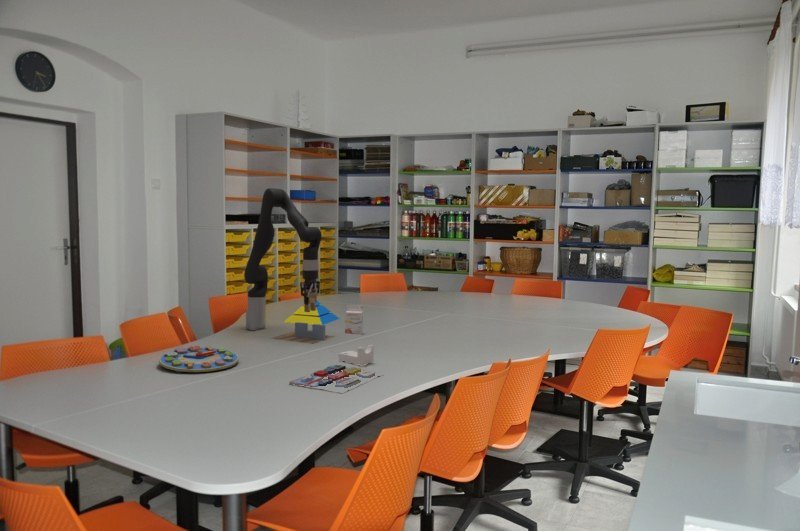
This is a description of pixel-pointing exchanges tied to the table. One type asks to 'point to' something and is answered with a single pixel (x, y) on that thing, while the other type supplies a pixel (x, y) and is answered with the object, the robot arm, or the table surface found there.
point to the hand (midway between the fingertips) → (310, 303)
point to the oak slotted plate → (311, 303)
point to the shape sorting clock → (198, 359)
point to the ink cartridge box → (354, 320)
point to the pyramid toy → (313, 315)
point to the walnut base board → (298, 338)
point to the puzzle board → (333, 377)
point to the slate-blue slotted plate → (316, 332)
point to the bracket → (358, 356)
